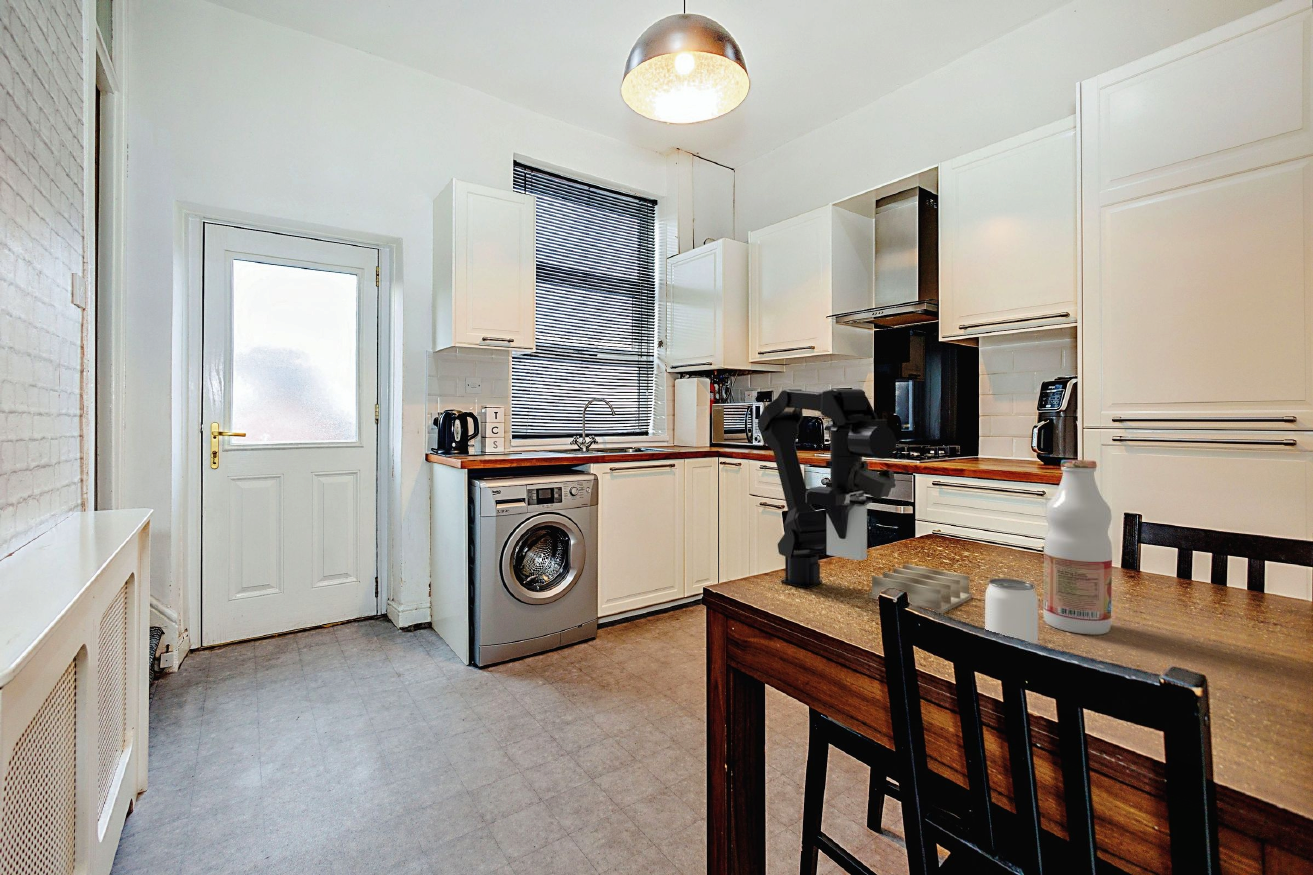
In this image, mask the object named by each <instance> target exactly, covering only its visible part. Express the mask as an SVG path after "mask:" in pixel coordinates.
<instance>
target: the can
mask: <svg viewBox="0 0 1313 875" xmlns="http://www.w3.org/2000/svg"><path fill="white" fill-rule="evenodd" d="M988 583H989V584H988V586H987V588H986V590H985V597H984V602H985V603H984V605H985V606H984V630H985V629H986V630H989V631H992V632H996V633H1000V634H1002V635H1005V636H1010V637H1014V638H1019V639H1022V640H1025V641H1029V642H1033V643H1037V644H1038V645H1039V597H1038V595H1037V591H1035V587H1036V586H1035V584H1034V583H1031V582H1029V581H1025V580H1020V579H1015V578H1005V577H1004V578H1003V577H1000V578H999V577H998V578H997V577H996V578H992V579H989V580H988Z"/></svg>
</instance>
